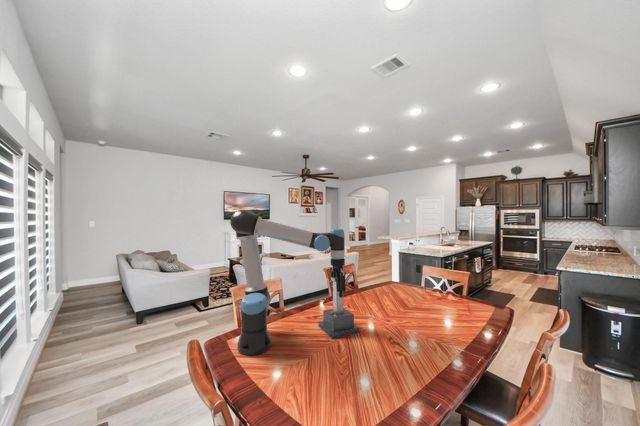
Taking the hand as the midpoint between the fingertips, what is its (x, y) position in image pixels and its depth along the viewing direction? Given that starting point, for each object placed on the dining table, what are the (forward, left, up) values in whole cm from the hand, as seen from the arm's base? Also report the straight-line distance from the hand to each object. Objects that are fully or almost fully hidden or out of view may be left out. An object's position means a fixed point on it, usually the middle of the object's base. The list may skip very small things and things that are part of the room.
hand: (338, 301), depth 141 cm
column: (0, 0, -11) cm, 11 cm away
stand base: (0, 0, -15) cm, 15 cm away
